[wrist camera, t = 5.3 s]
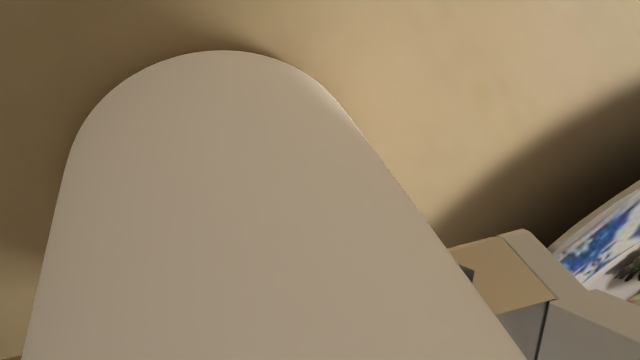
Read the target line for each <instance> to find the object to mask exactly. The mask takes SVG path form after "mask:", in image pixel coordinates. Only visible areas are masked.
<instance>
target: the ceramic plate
mask: <svg viewBox="0 0 640 360" xmlns="http://www.w3.org/2000/svg"><path fill="white" fill-rule="evenodd" d="M547 249H548V250H549V251H550V252H551V253H552V254H553V256H554V257H555V258H556V259H557V260H558V261H559V262H560V263H561V264H562V265H563V266H564V267H565V268H566V269H567V270H568V271H569V272H570V273H571V274H572V275H573V276H574V277H575V278H576V279H577V280H578V281H579V282H580V283H581V284H582V285H583V286H584V287H585V288H586V289H587V290H588V291H590V290H594V289H598V290H601V291H603V292H606V293H608V294H611V295H613V296H616V297H618V298H621V299H623V300H626V301H628V302H631V303H633V304H636V305H638V306H640V180H639V181H637V182H636V183H634V184H633V185H631V186H630V187H628V188H627V189H625V190H624V191H622V192H621V193H619V194H618V195H616V196H614V197H613V198H611V199H610V200H609V201H607V202H606V203H604V204H603V205H602V206H600V207H599V208H597V209H596V210H595V211H593V212H592V213H590V214H589V215H588V216H586V217H585V218H583V219H582V220H581V221H579V222H578V223H576V224H575V225H574V226H572V227H571V228H570V229H569V230H568V231H567V232H565V233H564V234H563V235H562V236H561V237H560V238H558V239H557V240H556V241H555V242H554V243H553V244H551V245H550V246H549V247H548V248H547Z"/></svg>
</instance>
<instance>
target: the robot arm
mask: <svg viewBox="0 0 640 360" xmlns="http://www.w3.org/2000/svg"><path fill="white" fill-rule="evenodd" d="M447 250H448V251H449V253H450V254H451V255H452V257H453V258H454V259H455V261H456V262H457V264H458V265H459V266H460V268H461V269H462V270H463V272H464V273H465V275H466V276H467V277H468V279H469V280H470V281H471V283H472V284H473V286H474V287H475V288H476V290H477V291H478V292H479V294H480V295H481V297H482V298H483V299H484V301H485V302H486V303H487V305H488V306H489V308H490V309H491V310H492V312H493V313H494V314H495V316H496V317H497V319H498V320H499V321H500V323H501V324H502V325H503V327H504V328H505V330H506V331H507V332H508V334H509V335H510V336H511V338H512V339H513V341H514V342H515V343H516V345H517V346H518V347H519V349H520V350H521V352H522V353H523V354H524V356H525V357H526V359H527V360H640V306H638V305H636V304H633V303H631V302H628V301H626V300H623V299H621V298H618V297H616V296H613V295H611V294H608V293H606V292H603V291H601V290H598V289H594V290H590V291H588V290H587V289H586V288H585V287H584V286H583V285H582V284H581V283H580V282H579V281H578V280H577V279H576V278H575V277H574V276H573V275H572V274H571V273H570V272H569V271H568V270H567V269H566V268H565V267H564V266H563V265H562V264H561V263H560V262H559V261H558V260H557V259H556V258H555V257H554V256H553V254H552V253H551V252H550V251H549V250H548V249H547V248H546V247H545V246H544V245H543V244H542V243H541V242H540V241H539V240H538V239H537V238H536V237H535V236H534V235H533V234H532V233H531V232H530V231H528V230H525V229H519V230H515V231H512V232H508V233H504V234H500V235H496V236H495V237H489V238H485V239H481V240H478V241H474V242H470V243H466V244H462V245H458V246H455V247H451V248H447ZM21 357H22V355H20V356H16V357H11V358H7V359H3V360H21Z"/></svg>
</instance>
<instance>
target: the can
mask: <svg viewBox="0 0 640 360" xmlns="http://www.w3.org/2000/svg"><path fill="white" fill-rule="evenodd" d="M21 360H527V359H526V357H525V356H524V354H523V353H522V352H521V350H520V349H519V347H518V346H517V345H516V343H515V342H514V341H513V339H512V338H511V336H510V335H509V334H508V332H507V331H506V330H505V328H504V327H503V325H502V324H501V323H500V321H499V320H498V319H497V317H496V316H495V314H494V313H493V312H492V310H491V309H490V308H489V306H488V305H487V303H486V302H485V301H484V299H483V298H482V297H481V295H480V294H479V292H478V291H477V290H476V288H475V287H474V286H473V284H472V283H471V281H470V280H469V279H468V277H467V276H466V275H465V273H464V272H463V270H462V269H461V268H460V266H459V265H458V264H457V262H456V261H455V259H454V258H453V257H452V255H451V254H450V253H449V251H448V250H447V248H446V247H445V246H444V244H443V243H442V242H441V240H440V239H439V237H438V236H437V235H436V233H435V232H434V231H433V229H432V228H431V227H430V225H429V224H428V222H427V221H426V220H425V218H424V217H423V216H422V214H421V213H420V211H419V210H418V209H417V207H416V206H415V205H414V203H413V202H412V201H411V199H410V198H409V196H408V195H407V194H406V192H405V191H404V190H403V188H402V187H401V186H400V184H399V183H398V181H397V180H396V179H395V177H394V176H393V175H392V173H391V172H390V171H389V169H388V168H387V166H386V165H385V164H384V162H383V161H382V160H381V158H380V157H379V156H378V154H377V153H376V152H375V150H374V149H373V147H372V146H371V145H370V143H369V142H368V141H367V139H366V138H365V137H364V135H363V134H362V133H361V131H360V130H359V129H358V127H357V126H356V125H355V123H354V122H353V121H352V119H351V118H350V117H349V115H348V114H347V113H346V112H345V110H344V109H343V108H342V107H341V105H340V104H339V103H338V102H337V100H336V99H335V98H334V97H333V96H332V95H331V94H330V93H329V92H328V91H327V90H326V89H325V88H324V87H323V86H322V85H321V84H320V83H318V82H317V81H316V80H315V79H313V78H312V77H310V76H309V75H307V74H306V73H304V72H303V71H301V70H299V69H297V68H296V67H294V66H292V65H289V64H287V63H285V62H282V61H280V60H277V59H274V58H271V57H268V56H264V55H260V54H255V53H250V52H243V51H231V50H215V51H202V52H195V53H189V54H185V55H180V56H176V57H173V58H170V59H167V60H164V61H161V62H158V63H156V64H153V65H151V66H149V67H147V68H145V69H143V70H141V71H139V72H137V73H135V74H134V75H132V76H130V77H129V78H127V79H126V80H124V81H123V82H122V83H120V84H119V85H118V86H116V87H115V88H114V89H113V90H111V91H110V92H109V93H108V94H107V95H106V96H105V97H104V98H103V99H102V100H101V101H100V102H99V103H98V104H97V105H96V106H95V108H94V109H93V110H92V111H91V113H90V114H89V115H88V117H87V118H86V120H85V121H84V123H83V124H82V126H81V128H80V130H79V132H78V134H77V135H76V138H75V140H74V142H73V145H72V147H71V150H70V153H69V156H68V160H67V163H66V167H65V170H64V174H63V178H62V183H61V187H60V191H59V195H58V199H57V203H56V208H55V212H54V216H53V221H52V225H51V229H50V234H49V238H48V242H47V247H46V251H45V255H44V260H43V264H42V269H41V273H40V277H39V282H38V286H37V291H36V295H35V299H34V304H33V308H32V313H31V317H30V322H29V326H28V330H27V335H26V339H25V344H24V348H23V352H22V357H21Z"/></svg>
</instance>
